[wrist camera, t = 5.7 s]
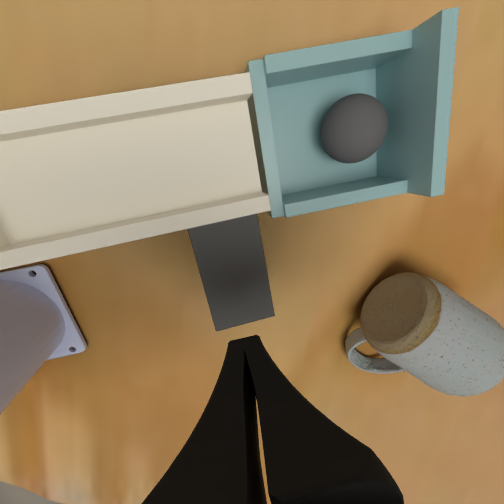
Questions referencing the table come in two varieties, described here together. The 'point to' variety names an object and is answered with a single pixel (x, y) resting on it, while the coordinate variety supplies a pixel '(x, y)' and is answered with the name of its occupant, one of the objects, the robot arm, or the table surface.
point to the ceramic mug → (429, 336)
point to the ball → (354, 128)
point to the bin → (346, 83)
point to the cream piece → (142, 183)
